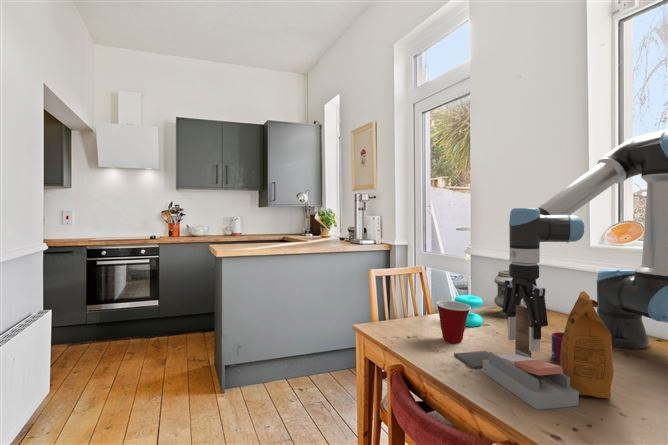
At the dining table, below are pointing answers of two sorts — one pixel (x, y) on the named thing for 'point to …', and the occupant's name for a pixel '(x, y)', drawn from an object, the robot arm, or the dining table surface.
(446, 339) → the plastic cup
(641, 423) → the dining table surface
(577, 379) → the coffee package
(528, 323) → the wooden pestle
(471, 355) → the mat
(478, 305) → the donuts
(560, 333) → the cup
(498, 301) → the apothecary jar
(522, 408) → the dining table surface
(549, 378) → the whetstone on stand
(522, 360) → the rocker
